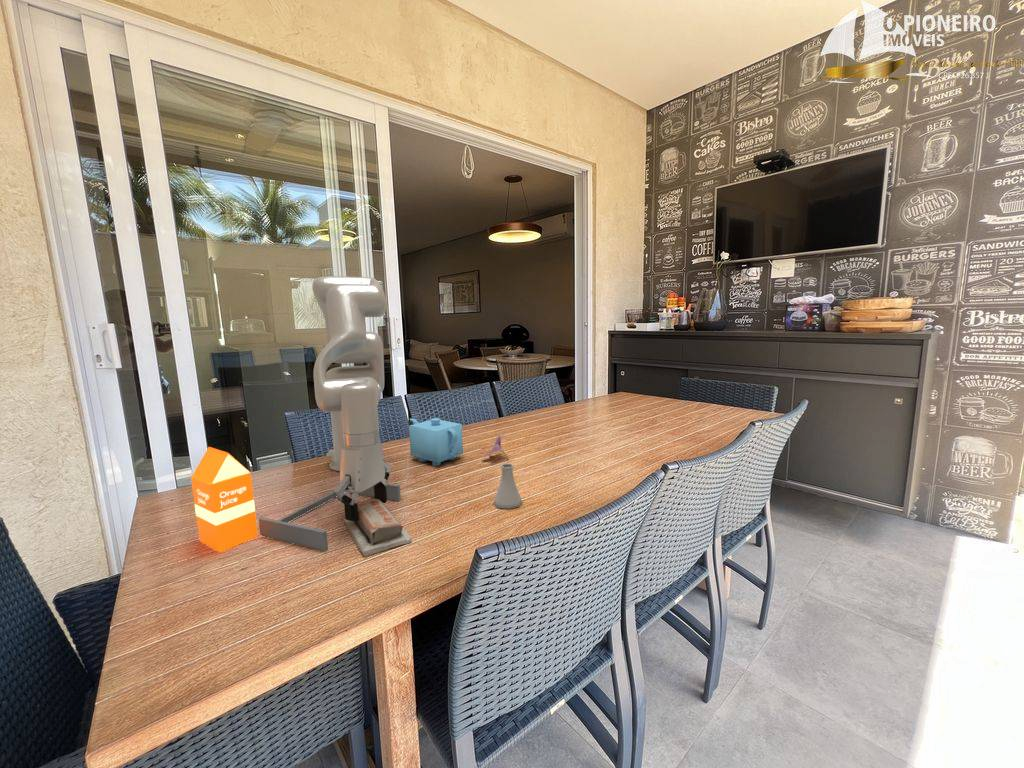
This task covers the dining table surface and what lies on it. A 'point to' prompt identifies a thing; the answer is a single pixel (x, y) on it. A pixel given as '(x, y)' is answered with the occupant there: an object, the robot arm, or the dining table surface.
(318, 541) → the grey twin-plate frame
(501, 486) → the flask
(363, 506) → the packaged product
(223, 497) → the orange juice
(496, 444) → the lily
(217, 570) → the dining table surface
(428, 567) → the dining table surface
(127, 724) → the dining table surface
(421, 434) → the teapot
